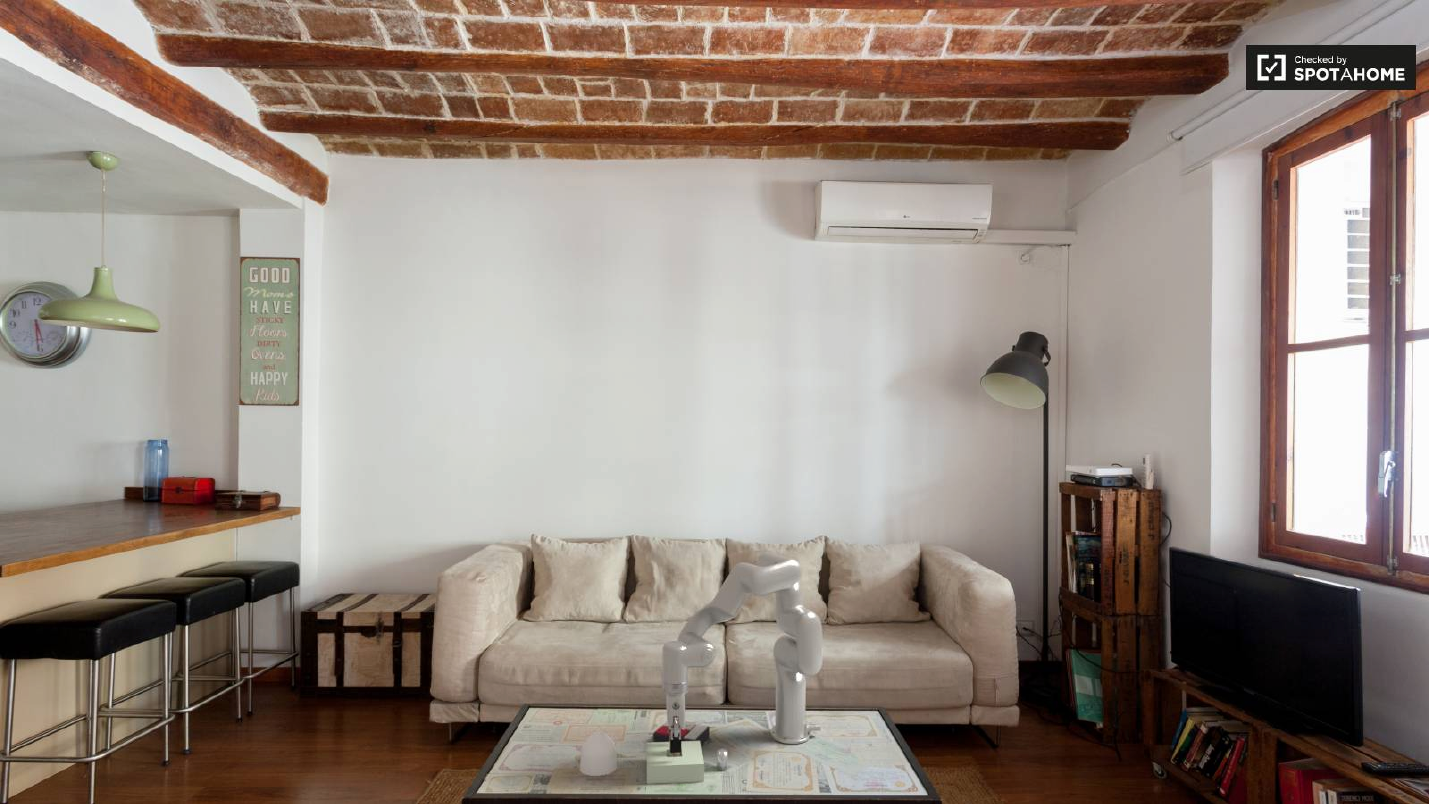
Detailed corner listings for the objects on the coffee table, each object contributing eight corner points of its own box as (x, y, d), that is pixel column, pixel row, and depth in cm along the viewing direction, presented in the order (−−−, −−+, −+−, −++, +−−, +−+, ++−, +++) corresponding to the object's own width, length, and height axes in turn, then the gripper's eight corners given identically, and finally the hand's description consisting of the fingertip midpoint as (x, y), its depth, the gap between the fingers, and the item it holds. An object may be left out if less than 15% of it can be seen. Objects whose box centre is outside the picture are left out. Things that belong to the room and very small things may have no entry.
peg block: (699, 757, 220) (700, 740, 220) (703, 781, 206) (703, 763, 206) (646, 759, 218) (646, 742, 218) (646, 784, 204) (646, 766, 204)
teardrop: (576, 761, 217) (576, 720, 217) (612, 755, 221) (613, 715, 221) (583, 779, 207) (583, 736, 207) (621, 772, 211) (621, 731, 211)
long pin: (679, 767, 214) (679, 729, 214) (679, 772, 211) (680, 734, 211) (669, 767, 214) (669, 730, 214) (669, 772, 211) (669, 734, 211)
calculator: (668, 717, 240) (710, 724, 233) (668, 731, 240) (710, 737, 233) (652, 731, 230) (695, 738, 223) (652, 745, 229) (695, 752, 223)
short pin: (726, 765, 215) (726, 748, 215) (727, 770, 212) (728, 753, 212) (716, 766, 215) (716, 749, 215) (717, 771, 212) (717, 754, 212)
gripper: (689, 697, 204) (689, 758, 204) (686, 674, 221) (686, 730, 221) (662, 698, 203) (662, 759, 203) (661, 674, 220) (661, 731, 220)
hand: (674, 744), depth 212 cm, fingers open, 9 cm apart
